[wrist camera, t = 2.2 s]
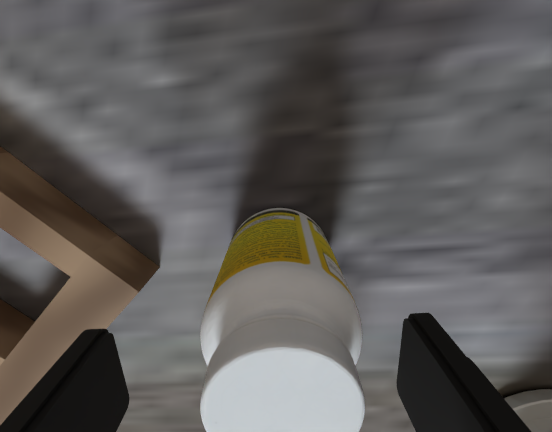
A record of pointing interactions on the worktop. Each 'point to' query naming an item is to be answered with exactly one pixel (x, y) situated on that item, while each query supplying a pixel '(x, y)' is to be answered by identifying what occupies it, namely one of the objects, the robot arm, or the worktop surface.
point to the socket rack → (71, 260)
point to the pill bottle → (281, 333)
